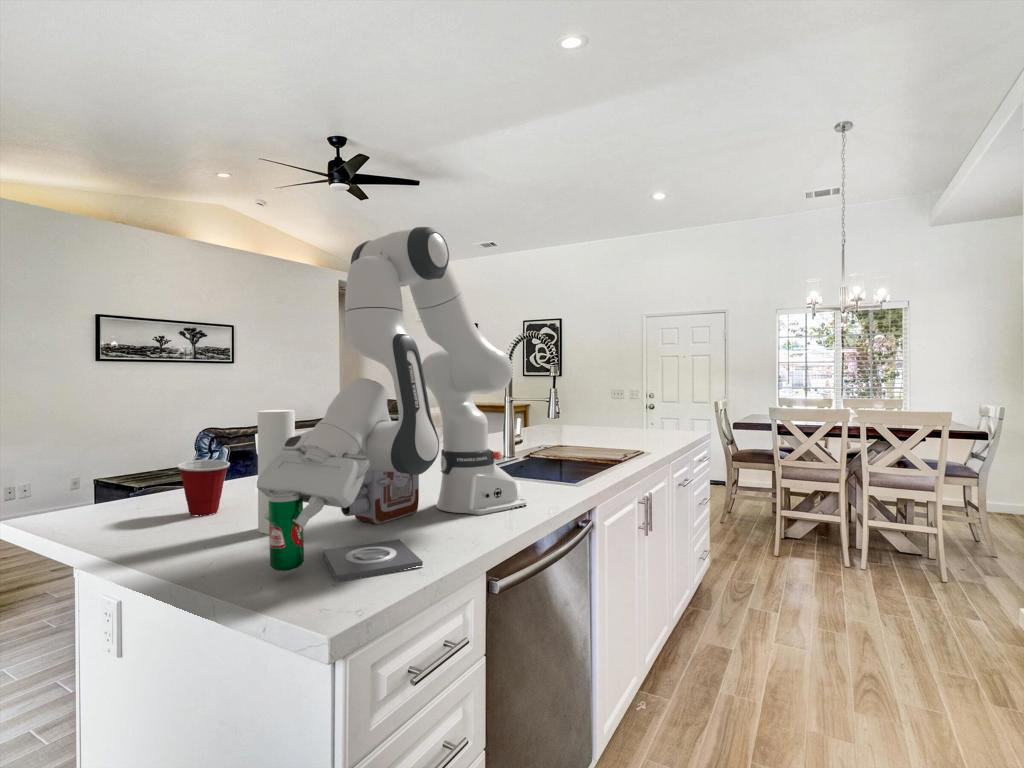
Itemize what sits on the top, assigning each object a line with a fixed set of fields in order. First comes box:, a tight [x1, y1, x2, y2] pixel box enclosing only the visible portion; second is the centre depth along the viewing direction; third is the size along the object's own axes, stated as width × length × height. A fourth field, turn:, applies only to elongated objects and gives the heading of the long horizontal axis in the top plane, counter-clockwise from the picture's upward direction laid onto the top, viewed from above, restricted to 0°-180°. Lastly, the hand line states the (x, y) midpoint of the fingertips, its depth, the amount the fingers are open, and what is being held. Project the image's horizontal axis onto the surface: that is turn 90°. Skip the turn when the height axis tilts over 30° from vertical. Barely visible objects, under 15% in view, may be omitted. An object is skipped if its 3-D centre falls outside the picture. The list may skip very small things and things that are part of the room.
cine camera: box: [340, 470, 420, 525], centre depth 122 cm, size 9×19×20 cm, turn 146°
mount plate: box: [322, 539, 424, 582], centre depth 94 cm, size 14×14×1 cm
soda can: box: [268, 490, 305, 572], centre depth 87 cm, size 5×5×12 cm
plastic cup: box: [176, 459, 231, 517], centre depth 127 cm, size 11×11×12 cm
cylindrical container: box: [257, 409, 296, 535], centre depth 114 cm, size 7×7×25 cm
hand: (283, 522), depth 86 cm, fingers closed on soda can, 5 cm apart
